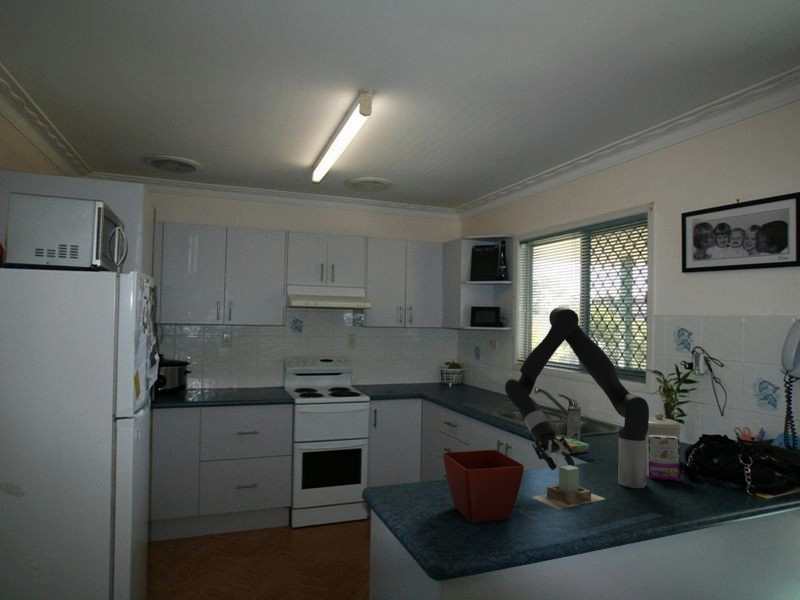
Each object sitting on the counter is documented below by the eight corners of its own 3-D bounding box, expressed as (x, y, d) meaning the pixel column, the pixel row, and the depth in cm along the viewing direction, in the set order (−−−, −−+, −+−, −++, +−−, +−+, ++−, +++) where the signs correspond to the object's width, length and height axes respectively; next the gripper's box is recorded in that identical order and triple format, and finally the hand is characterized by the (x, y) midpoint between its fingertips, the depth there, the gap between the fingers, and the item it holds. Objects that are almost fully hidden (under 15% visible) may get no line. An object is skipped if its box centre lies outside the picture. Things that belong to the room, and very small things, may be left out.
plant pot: (464, 529, 143) (466, 469, 144) (440, 505, 161) (442, 452, 162) (524, 523, 148) (525, 465, 149) (494, 500, 167) (495, 449, 167)
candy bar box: (676, 477, 198) (676, 435, 199) (680, 481, 193) (680, 438, 194) (645, 474, 201) (645, 433, 202) (648, 478, 196) (648, 436, 197)
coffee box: (567, 436, 267) (568, 405, 267) (580, 437, 264) (581, 406, 265) (566, 440, 258) (567, 408, 259) (580, 441, 256) (580, 409, 257)
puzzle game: (569, 444, 230) (541, 435, 248) (569, 455, 229) (540, 444, 248) (589, 443, 234) (560, 433, 253) (589, 453, 234) (559, 443, 252)
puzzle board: (577, 492, 177) (577, 479, 178) (605, 503, 167) (606, 489, 167) (531, 501, 166) (531, 487, 167) (559, 514, 156) (559, 499, 156)
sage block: (569, 494, 170) (569, 465, 170) (578, 498, 166) (579, 468, 167) (558, 497, 167) (559, 466, 168) (568, 501, 164) (568, 470, 164)
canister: (681, 468, 211) (681, 418, 212) (634, 461, 221) (634, 413, 222) (683, 459, 227) (683, 412, 228) (639, 452, 236) (639, 407, 237)
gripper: (530, 421, 174) (554, 463, 163) (559, 418, 181) (584, 459, 170) (519, 434, 178) (542, 475, 168) (548, 430, 185) (572, 470, 175)
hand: (563, 467), depth 169 cm, fingers open, 8 cm apart
